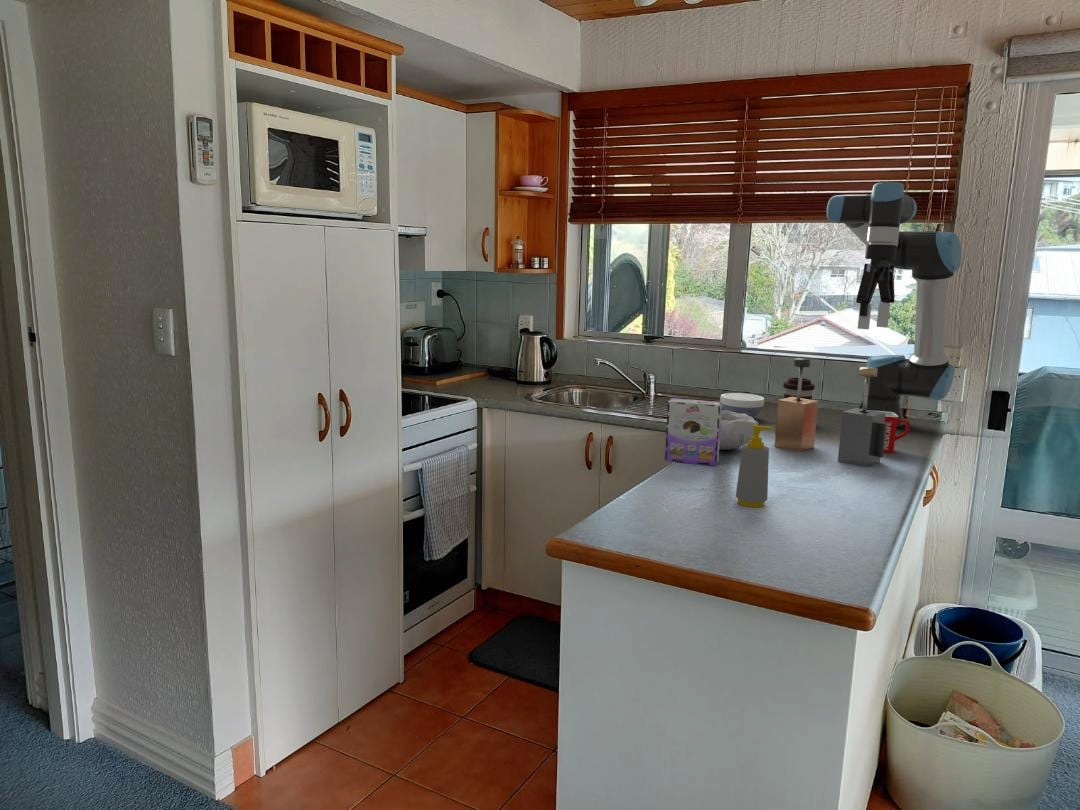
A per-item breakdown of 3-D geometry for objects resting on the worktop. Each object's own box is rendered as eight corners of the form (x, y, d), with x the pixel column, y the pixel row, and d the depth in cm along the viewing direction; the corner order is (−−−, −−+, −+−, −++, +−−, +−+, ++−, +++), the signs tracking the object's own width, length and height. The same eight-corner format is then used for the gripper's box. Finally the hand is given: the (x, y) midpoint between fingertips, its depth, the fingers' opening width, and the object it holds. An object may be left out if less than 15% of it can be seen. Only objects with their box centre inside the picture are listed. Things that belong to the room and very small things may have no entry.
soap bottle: (762, 510, 175) (768, 429, 171) (730, 504, 178) (737, 425, 175) (771, 502, 180) (777, 424, 177) (740, 496, 184) (746, 420, 181)
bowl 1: (768, 418, 276) (769, 396, 274) (754, 425, 263) (756, 402, 262) (727, 412, 283) (728, 391, 282) (712, 419, 271) (714, 397, 270)
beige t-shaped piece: (855, 427, 222) (862, 365, 219) (877, 431, 218) (884, 368, 215) (846, 430, 218) (852, 367, 214) (868, 434, 214) (875, 370, 210)
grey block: (850, 456, 225) (855, 408, 222) (887, 463, 218) (892, 413, 215) (837, 461, 219) (842, 411, 217) (874, 468, 212) (880, 417, 210)
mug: (865, 451, 231) (868, 415, 229) (860, 445, 239) (863, 410, 237) (909, 454, 229) (913, 418, 227) (902, 448, 237) (907, 412, 235)
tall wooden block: (781, 440, 242) (785, 395, 239) (813, 447, 235) (818, 400, 232) (768, 444, 236) (772, 398, 233) (800, 451, 229) (805, 404, 226)
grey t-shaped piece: (792, 415, 237) (797, 357, 234) (811, 418, 233) (816, 359, 230) (782, 417, 233) (787, 358, 230) (801, 420, 229) (807, 361, 225)
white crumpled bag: (685, 437, 242) (687, 405, 240) (755, 442, 238) (757, 409, 236) (683, 454, 222) (685, 418, 220) (759, 460, 218) (762, 424, 216)
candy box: (719, 461, 215) (723, 401, 212) (716, 466, 210) (720, 405, 207) (667, 456, 220) (671, 396, 216) (663, 461, 214) (667, 400, 211)
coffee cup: (812, 427, 262) (817, 382, 259) (781, 425, 264) (785, 380, 261) (809, 421, 272) (813, 377, 269) (778, 419, 274) (782, 375, 271)
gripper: (885, 245, 220) (876, 325, 224) (848, 242, 203) (839, 328, 207) (913, 245, 215) (904, 327, 219) (877, 242, 198) (868, 331, 202)
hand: (872, 328), depth 213 cm, fingers open, 11 cm apart
